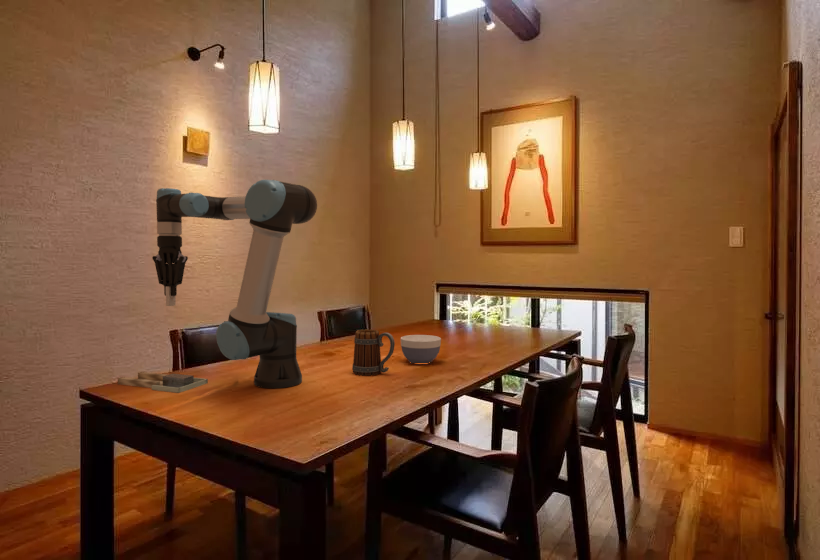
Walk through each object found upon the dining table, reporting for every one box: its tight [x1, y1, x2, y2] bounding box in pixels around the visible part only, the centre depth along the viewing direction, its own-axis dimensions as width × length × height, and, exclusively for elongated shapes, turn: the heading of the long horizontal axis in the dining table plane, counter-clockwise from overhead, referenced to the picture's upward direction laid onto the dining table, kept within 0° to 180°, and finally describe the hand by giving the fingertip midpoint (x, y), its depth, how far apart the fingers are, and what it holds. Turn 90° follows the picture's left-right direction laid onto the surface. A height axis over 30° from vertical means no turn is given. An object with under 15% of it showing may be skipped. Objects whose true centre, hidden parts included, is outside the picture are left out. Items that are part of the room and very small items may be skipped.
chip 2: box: [173, 374, 195, 388], centre depth 151 cm, size 4×4×4 cm
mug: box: [351, 329, 396, 377], centre depth 177 cm, size 16×11×15 cm
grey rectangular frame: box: [151, 377, 209, 394], centre depth 152 cm, size 10×12×3 cm
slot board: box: [117, 371, 167, 389], centre depth 156 cm, size 15×9×3 cm, turn 71°
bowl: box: [400, 334, 442, 364], centre depth 196 cm, size 16×16×10 cm
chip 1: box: [163, 373, 183, 387], centre depth 153 cm, size 4×4×4 cm
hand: (170, 305), depth 168 cm, fingers closed
